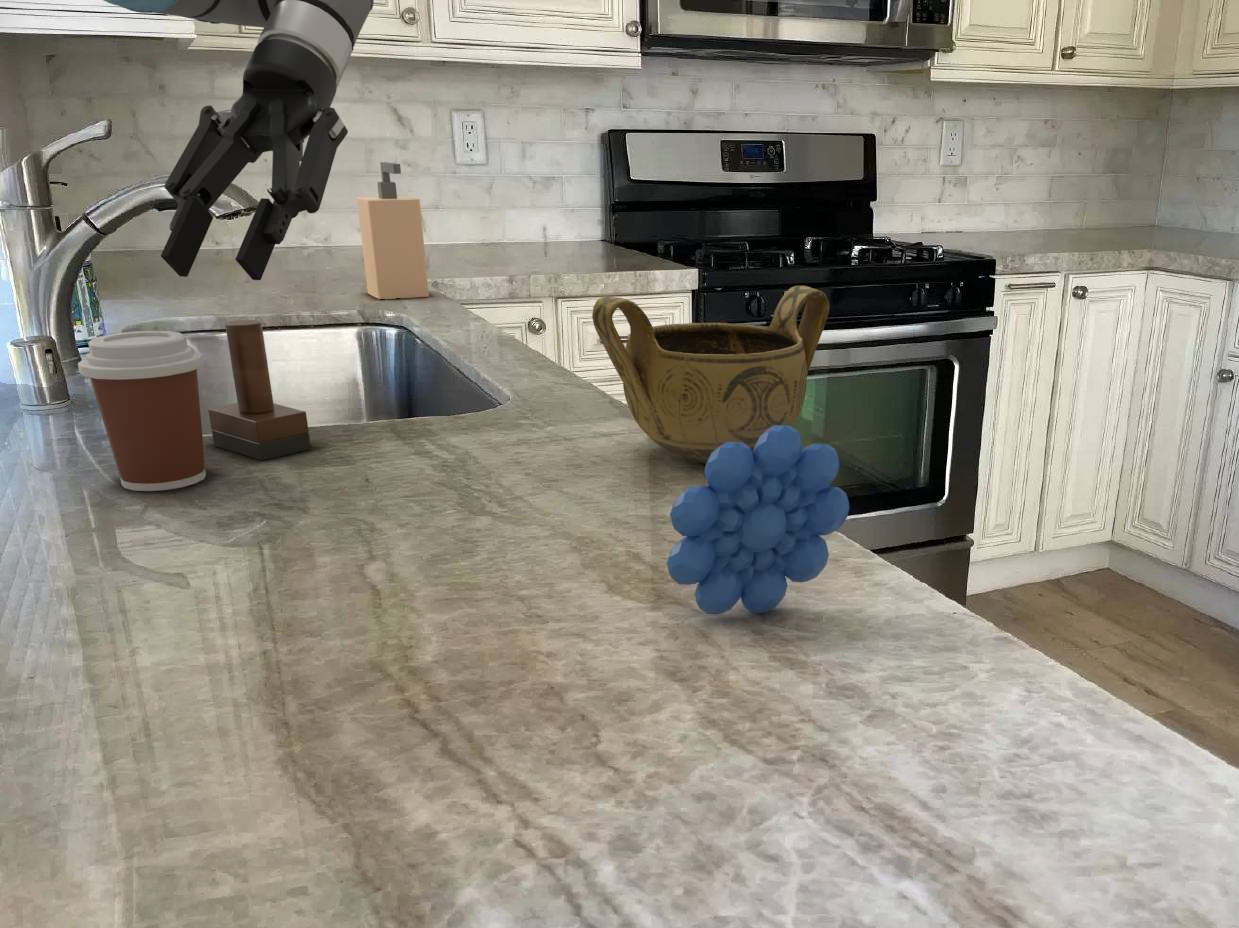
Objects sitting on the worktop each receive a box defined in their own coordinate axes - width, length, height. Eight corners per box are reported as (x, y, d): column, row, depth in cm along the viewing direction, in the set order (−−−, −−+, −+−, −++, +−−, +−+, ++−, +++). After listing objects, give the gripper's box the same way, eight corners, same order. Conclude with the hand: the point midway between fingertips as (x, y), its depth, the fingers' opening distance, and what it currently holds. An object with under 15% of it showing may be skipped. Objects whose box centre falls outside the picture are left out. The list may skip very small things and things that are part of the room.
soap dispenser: (367, 293, 199) (352, 161, 191) (416, 290, 203) (403, 161, 195) (384, 303, 189) (369, 164, 181) (435, 299, 193) (423, 163, 185)
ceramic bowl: (645, 497, 92) (640, 312, 87) (567, 448, 106) (558, 285, 100) (866, 460, 103) (873, 293, 98) (769, 420, 117) (771, 271, 111)
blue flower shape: (820, 577, 76) (825, 403, 72) (859, 616, 70) (868, 429, 66) (652, 597, 73) (647, 415, 69) (678, 639, 67) (675, 444, 63)
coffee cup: (132, 465, 100) (105, 328, 95) (238, 463, 100) (216, 328, 96) (82, 496, 91) (50, 348, 87) (199, 495, 92) (172, 347, 87)
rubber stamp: (213, 446, 106) (192, 321, 101) (263, 435, 109) (244, 314, 105) (261, 461, 101) (241, 331, 97) (311, 449, 105) (294, 323, 101)
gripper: (409, 100, 106) (334, 300, 97) (227, 98, 110) (139, 290, 101) (374, 34, 99) (290, 243, 90) (181, 34, 103) (82, 234, 94)
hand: (210, 267), depth 96 cm, fingers open, 6 cm apart
